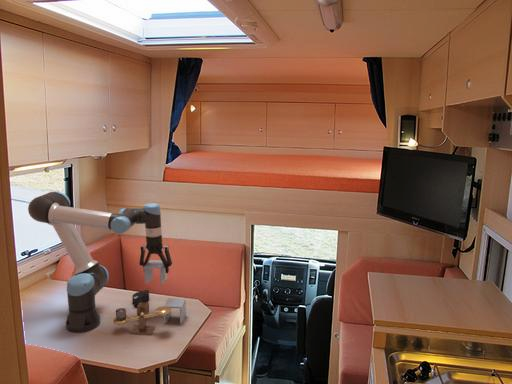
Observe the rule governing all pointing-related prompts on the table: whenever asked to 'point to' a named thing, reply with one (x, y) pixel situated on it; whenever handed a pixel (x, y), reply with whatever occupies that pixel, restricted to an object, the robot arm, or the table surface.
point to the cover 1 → (149, 270)
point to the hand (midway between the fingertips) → (156, 278)
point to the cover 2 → (176, 304)
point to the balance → (140, 320)
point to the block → (143, 308)
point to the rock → (140, 297)
